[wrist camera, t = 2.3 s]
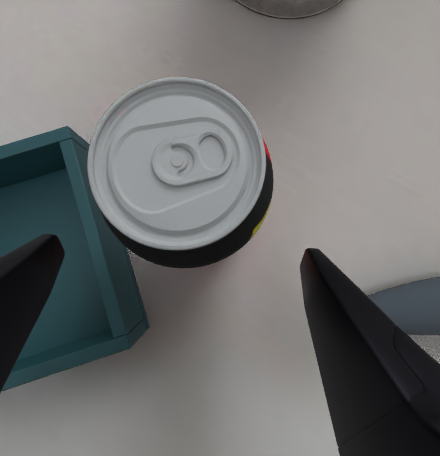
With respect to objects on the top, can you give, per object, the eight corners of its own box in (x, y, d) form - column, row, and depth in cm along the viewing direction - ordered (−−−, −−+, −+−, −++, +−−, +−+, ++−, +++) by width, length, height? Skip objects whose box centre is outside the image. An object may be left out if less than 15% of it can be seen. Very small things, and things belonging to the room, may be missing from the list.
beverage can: (150, 188, 20) (44, 87, 8) (231, 166, 20) (251, 34, 8) (171, 270, 19) (93, 300, 7) (254, 246, 19) (315, 236, 7)
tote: (149, 327, 19) (130, 348, 15) (-24, 385, 18) (-94, 423, 14) (98, 151, 20) (67, 125, 16) (-67, 201, 19) (-142, 188, 15)
